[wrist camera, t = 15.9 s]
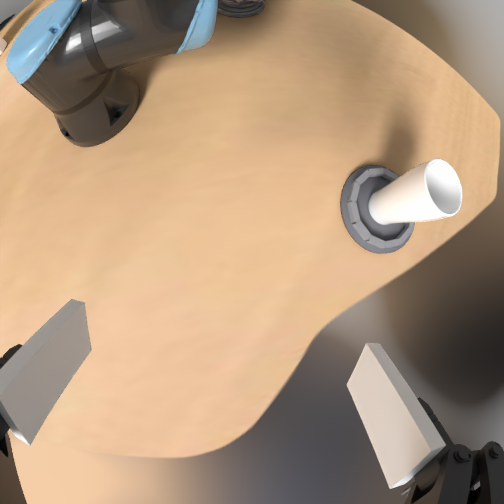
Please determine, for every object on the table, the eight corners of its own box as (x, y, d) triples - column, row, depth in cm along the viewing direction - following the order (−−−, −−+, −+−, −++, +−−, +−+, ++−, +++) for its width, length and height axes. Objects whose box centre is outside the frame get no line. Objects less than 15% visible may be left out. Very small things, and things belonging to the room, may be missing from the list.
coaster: (330, 170, 39) (335, 165, 37) (401, 164, 40) (407, 161, 38) (350, 261, 38) (356, 261, 36) (419, 245, 40) (426, 244, 38)
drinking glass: (403, 203, 39) (467, 183, 24) (388, 238, 38) (455, 229, 23) (372, 178, 38) (432, 145, 23) (355, 213, 38) (417, 191, 23)
